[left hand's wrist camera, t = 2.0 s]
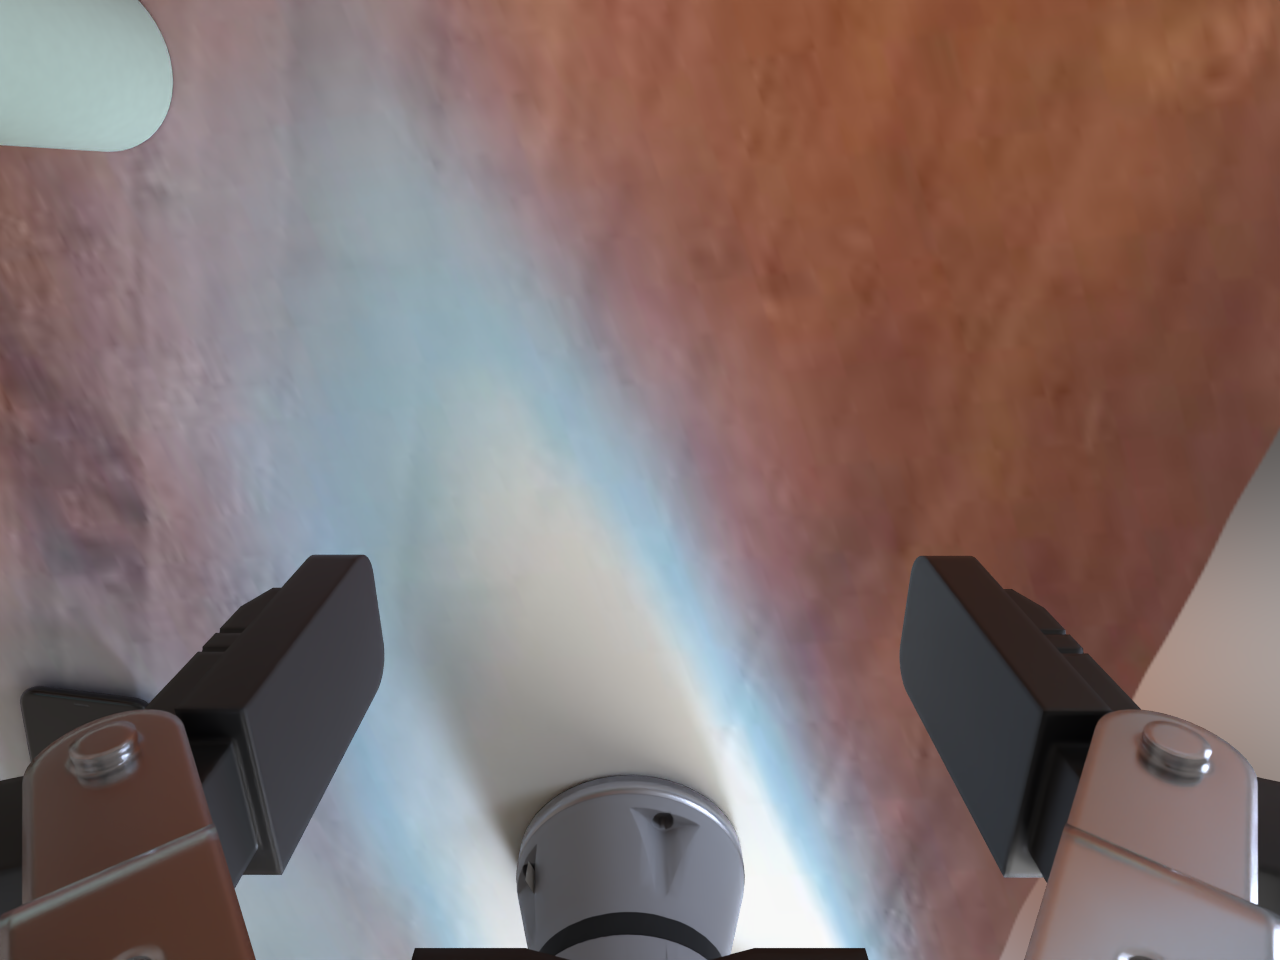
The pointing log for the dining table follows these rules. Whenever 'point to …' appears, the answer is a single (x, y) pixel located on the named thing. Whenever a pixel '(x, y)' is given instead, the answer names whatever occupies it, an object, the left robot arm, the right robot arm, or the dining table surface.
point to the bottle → (81, 74)
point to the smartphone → (66, 712)
